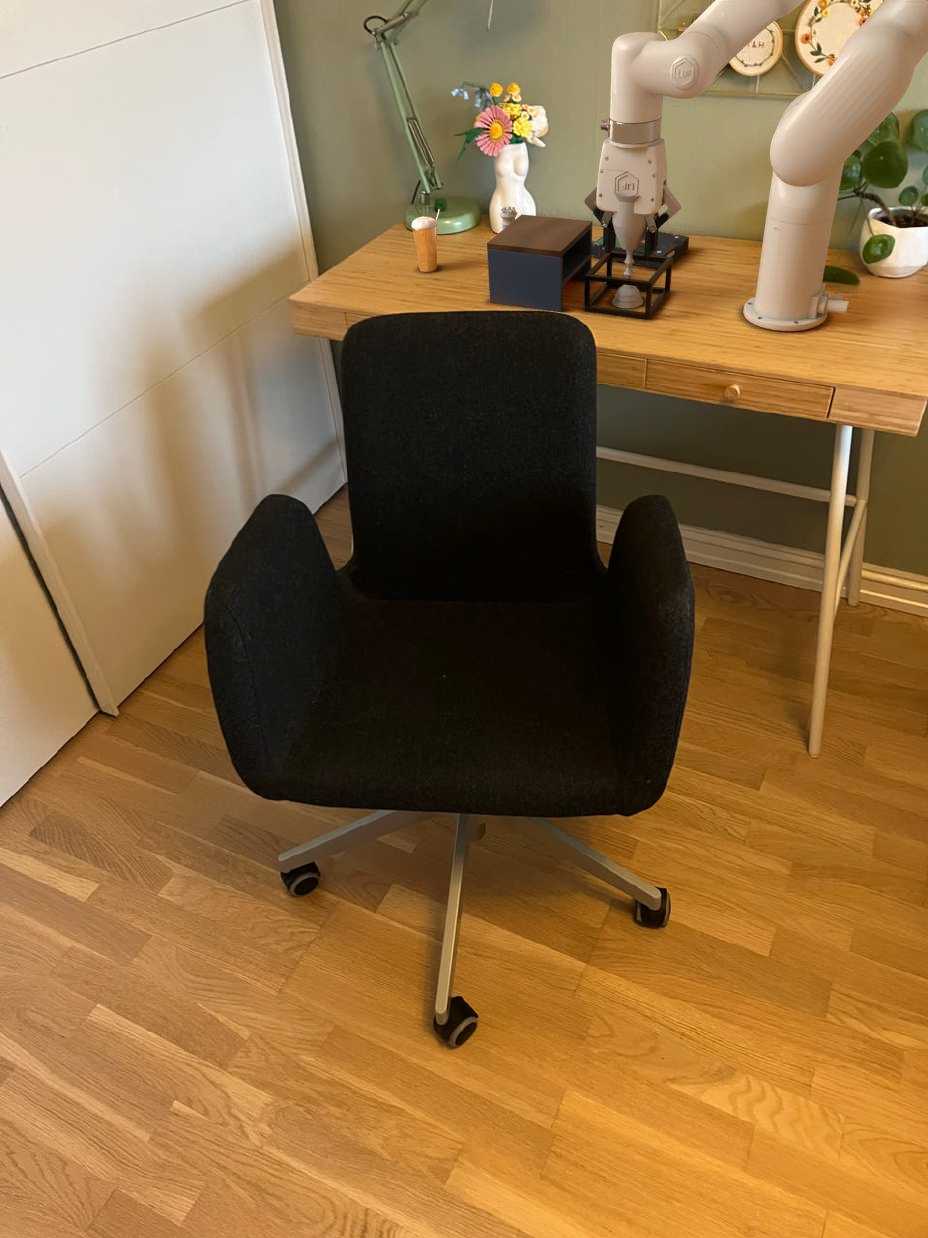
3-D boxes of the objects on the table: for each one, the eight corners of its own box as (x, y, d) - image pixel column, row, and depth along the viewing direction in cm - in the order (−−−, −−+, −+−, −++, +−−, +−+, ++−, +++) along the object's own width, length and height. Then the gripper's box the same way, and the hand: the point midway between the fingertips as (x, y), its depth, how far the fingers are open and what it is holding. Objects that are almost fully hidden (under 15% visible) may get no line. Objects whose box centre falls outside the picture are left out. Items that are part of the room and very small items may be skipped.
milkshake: (448, 269, 175) (444, 212, 169) (421, 275, 174) (415, 218, 168) (439, 261, 179) (435, 205, 172) (412, 267, 177) (406, 211, 171)
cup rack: (670, 292, 161) (672, 257, 157) (649, 319, 154) (651, 283, 150) (607, 285, 165) (608, 250, 161) (583, 311, 158) (584, 275, 154)
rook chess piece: (516, 246, 182) (514, 202, 176) (525, 254, 178) (524, 209, 173) (494, 251, 181) (492, 207, 175) (503, 259, 177) (501, 214, 172)
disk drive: (688, 251, 174) (616, 237, 181) (690, 235, 172) (617, 222, 179) (662, 271, 168) (588, 256, 175) (663, 255, 166) (589, 241, 173)
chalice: (647, 311, 156) (653, 196, 144) (604, 310, 157) (607, 196, 146) (649, 293, 161) (656, 180, 150) (608, 292, 163) (612, 180, 151)
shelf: (591, 279, 167) (592, 220, 161) (561, 312, 158) (560, 251, 152) (523, 271, 172) (521, 214, 166) (489, 302, 163) (486, 242, 157)
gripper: (571, 134, 143) (570, 255, 155) (684, 141, 137) (675, 267, 148) (589, 120, 148) (587, 239, 160) (699, 126, 141) (689, 249, 153)
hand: (629, 251), depth 154 cm, fingers closed on chalice, 5 cm apart
